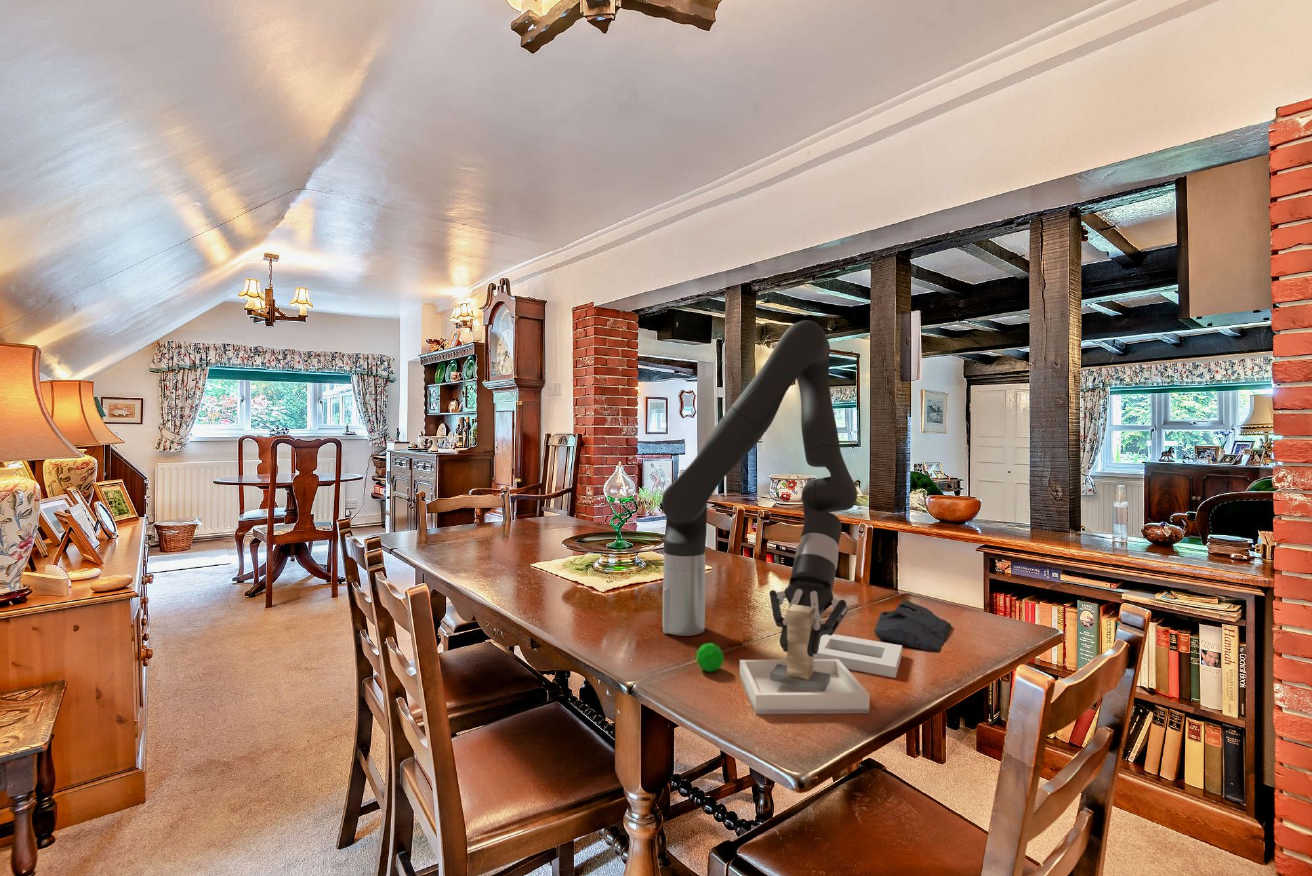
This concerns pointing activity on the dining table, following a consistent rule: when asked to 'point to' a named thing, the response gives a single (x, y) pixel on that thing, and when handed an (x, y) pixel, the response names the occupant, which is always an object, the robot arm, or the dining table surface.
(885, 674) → the slot plate
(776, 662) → the tray
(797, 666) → the wooden post on base
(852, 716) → the dining table surface
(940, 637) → the dark slate chunk
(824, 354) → the robot arm
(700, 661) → the polyhedron
